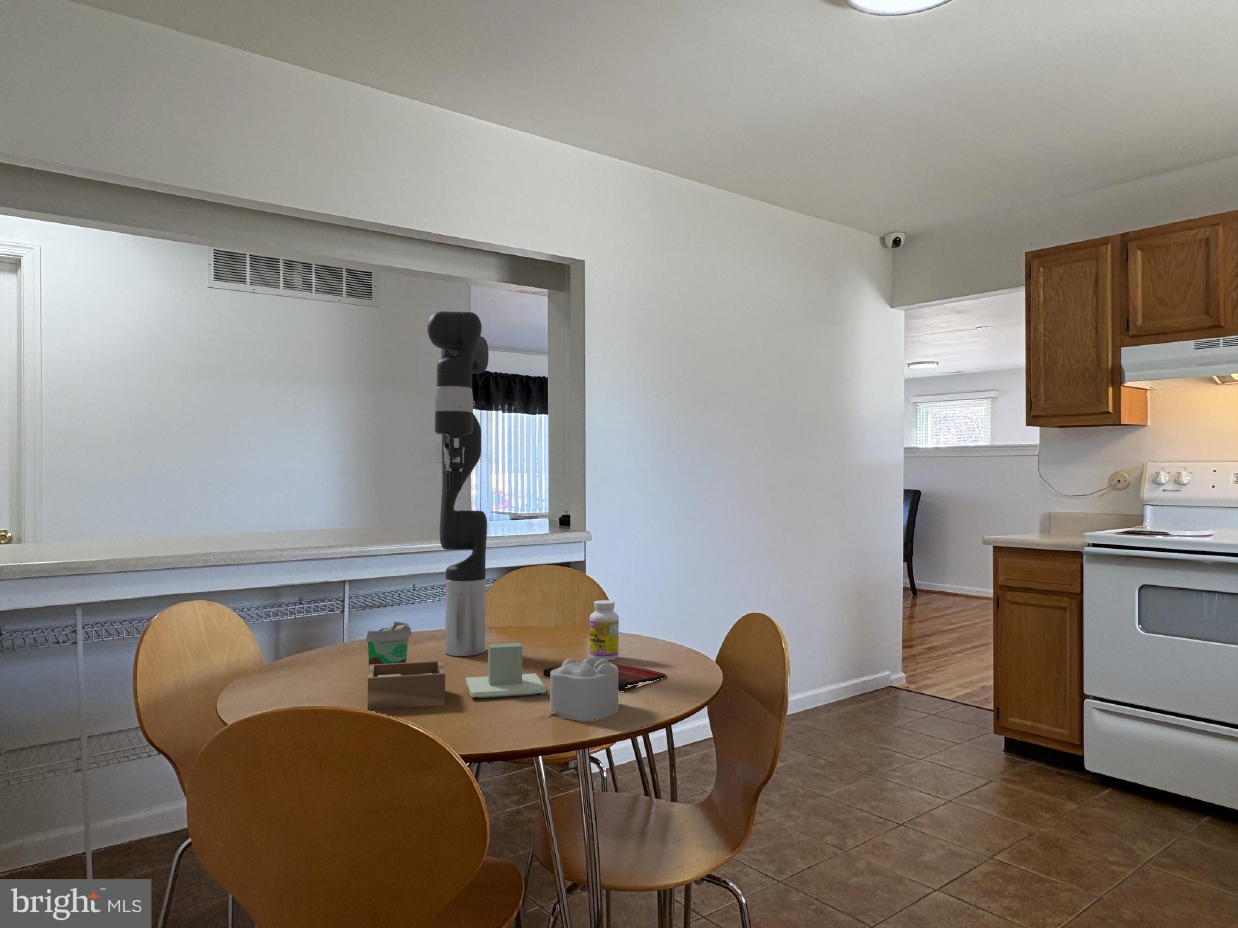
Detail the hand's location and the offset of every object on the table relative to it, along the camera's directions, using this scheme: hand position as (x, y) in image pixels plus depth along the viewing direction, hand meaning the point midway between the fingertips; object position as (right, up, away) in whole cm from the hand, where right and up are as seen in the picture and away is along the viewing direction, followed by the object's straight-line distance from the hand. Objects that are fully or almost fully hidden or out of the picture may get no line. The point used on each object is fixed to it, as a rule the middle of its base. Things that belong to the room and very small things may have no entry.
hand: (453, 491), depth 163 cm
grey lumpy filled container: (+28, -38, -20) cm, 51 cm away
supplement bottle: (+30, -39, +22) cm, 54 cm away
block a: (-8, -37, -17) cm, 41 cm away
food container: (-13, -38, +5) cm, 41 cm away
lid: (+12, -38, -10) cm, 41 cm away
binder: (+31, -39, +4) cm, 50 cm away
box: (-5, -38, -17) cm, 42 cm away
